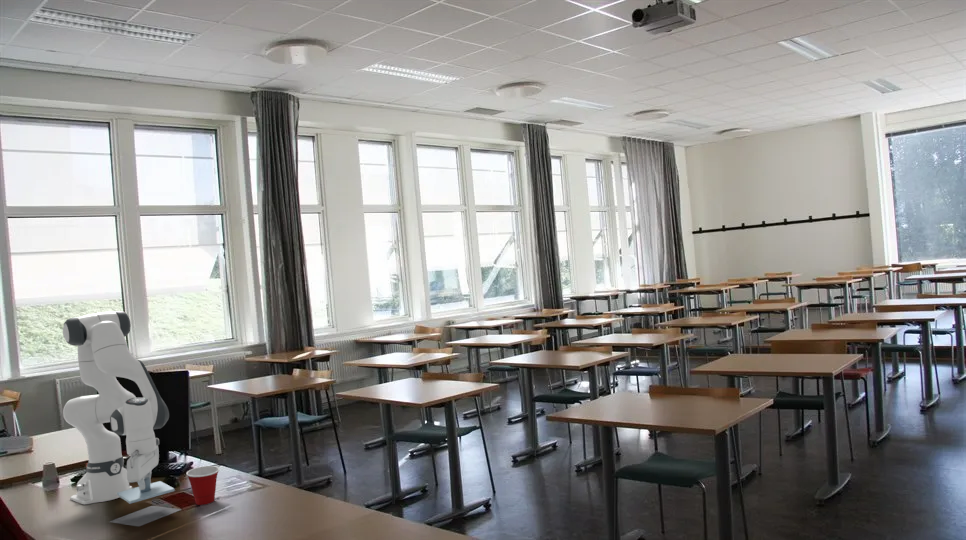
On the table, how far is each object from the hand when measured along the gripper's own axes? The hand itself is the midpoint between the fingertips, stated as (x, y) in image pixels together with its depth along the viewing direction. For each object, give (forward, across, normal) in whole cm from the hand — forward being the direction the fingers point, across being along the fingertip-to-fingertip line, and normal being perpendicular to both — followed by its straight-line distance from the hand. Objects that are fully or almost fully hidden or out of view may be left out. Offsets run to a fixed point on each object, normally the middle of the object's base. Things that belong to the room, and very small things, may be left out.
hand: (145, 487), depth 232 cm
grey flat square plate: (+10, -1, 0) cm, 10 cm away
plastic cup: (+10, +5, -18) cm, 21 cm away
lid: (+2, 0, 0) cm, 2 cm away
